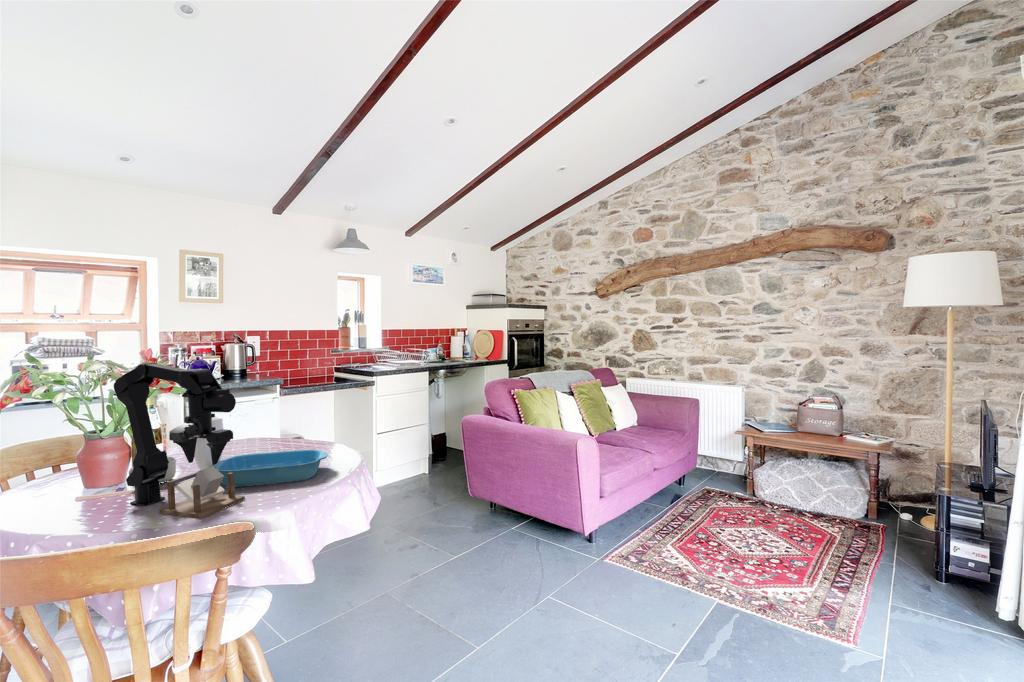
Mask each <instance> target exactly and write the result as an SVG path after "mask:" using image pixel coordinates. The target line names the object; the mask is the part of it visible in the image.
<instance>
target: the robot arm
mask: <svg viewBox="0 0 1024 682" xmlns="http://www.w3.org/2000/svg"><path fill="white" fill-rule="evenodd" d="M156 379H157V380H162V381H167V382H172V383H176V384H178V386H179V387H180V388H182V389H185V390H186V391H184V392H183V393H182V394H181V397H182V398H187V402H188V403H187V404H188V406H187V407H188V415H187V416H185V418H184V422H183V423H181V424H179V425H177V426H176V427H174V428H173V429H171V430H169V435H168V436H169V441H172V442H173V443H174V444H176V445H177V446H179V447H180V448H181V449H182V451H183V453H184V455H185V458H186V460H187V461H188V463H189V464H191V463H193V462H194V461H195V458H194V455H195V449H196V442H197V438H206V440H207V441H208V442H209V443H207V444H206V445H208V446H209V447H210V449H211V458H212V464H213V465H215V464H217V462H218V460H219V458H220V456H221V453H222V454H223V451H224V449H225V448H226V446H227V444H228V443H229V442H231V440H233V439H234V432H233V430H231V429H224V428H223V429H221V430H217V431H215V430H216V427H212V417H215V416H216V413H231V412H232V411H233V410H234V409H235V407H236V403H237V401H236V398H235V396H234V395H233V394H232V393H231V392H230V391H231V390H230V388H224V389H223V388H222V386H221V384H220V383H219V382H218V380H217V379H216V377H215V376H214V374H213V373H212V370H210V369H208V368H194V369H193V368H191V369H185V368H181V367H177V366H176V367H174V366H170V365H165V364H161V363H157V362H152V361H151V362H145V363H142V362H141V363H140V364H138V365H137V366H136V367H135V368H134V369H131V370H130V371H127V372H126V373H124V374H123V375H122V376H121V377H120V376H119V377H118V378H117V379H115V382H114V383H113V390H114V392H115V395H116V398H117V399H118V401H120V403H122V405H124V406H125V408H126V412H127V416H128V420H129V421H128V422H129V424H130V429H131V433H132V438H133V442H134V446H135V450H136V453H135V456H134V458H133V461H132V467H133V471H132V472H131V474H130V475H129V474H128V476H127V477H126V479H125V481H126V485H127V486H128V487H134V498H135V500H133V501H131V502H130V505H134V504H136V505H135V506H143V505H146V506H148V504H149V505H152V504H155V503H157V502H159V501H162V500H165V499H166V497H165V496H161V494H162V493H161V486H160V485H161V484H159V481H158V480H160V479H163V478H165V476H166V472H167V469H168V463H169V461H168V459H167V457H168V453H167V451H166V450H161V449H159V448H158V447H157V444H156V439H155V435H154V431H153V426H152V422H151V418H150V414H149V410H148V406H147V400H148V398H149V395H150V393H151V392H150V386H151V385H152V384H153V383H154V382H155V381H156ZM212 431H213V432H212ZM151 503H152V504H151Z"/></svg>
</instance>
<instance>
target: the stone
mask: <svg viewBox="0 0 1024 682" xmlns="http://www.w3.org/2000/svg"><path fill="white" fill-rule="evenodd" d="M197 472H198V473H197V475H196V477H194V478H193V479H194V481H193V483H192V485H191V488H192V489H193V486H195V485H200V496H201V497H204V496H207V495H209V494H212V493H214V492H217V490H218V488H219V486H221V483H222V480H223V478H224V475H223V474H221V473H220V472H219V471H218V470H217V469H216V468H215V467H213V466H212V467H209V468H206V469H203V470H200V469H199V470H198V471H197Z"/></svg>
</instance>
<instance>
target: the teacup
mask: <svg viewBox="0 0 1024 682" xmlns="http://www.w3.org/2000/svg"><path fill="white" fill-rule="evenodd" d="M167 459H168V461H169V463H168V469H167V472H166V476H165V478H163V479H160V480H158V481H159V483H161V482H165V481H169V480H170V481H172V480H173V479H174V477H175V475H176V471H177V458H176V457H174V456H167ZM132 471H133V466H131V467H130V469H129V470H128V476H129V475H130V474H131V472H132Z"/></svg>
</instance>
